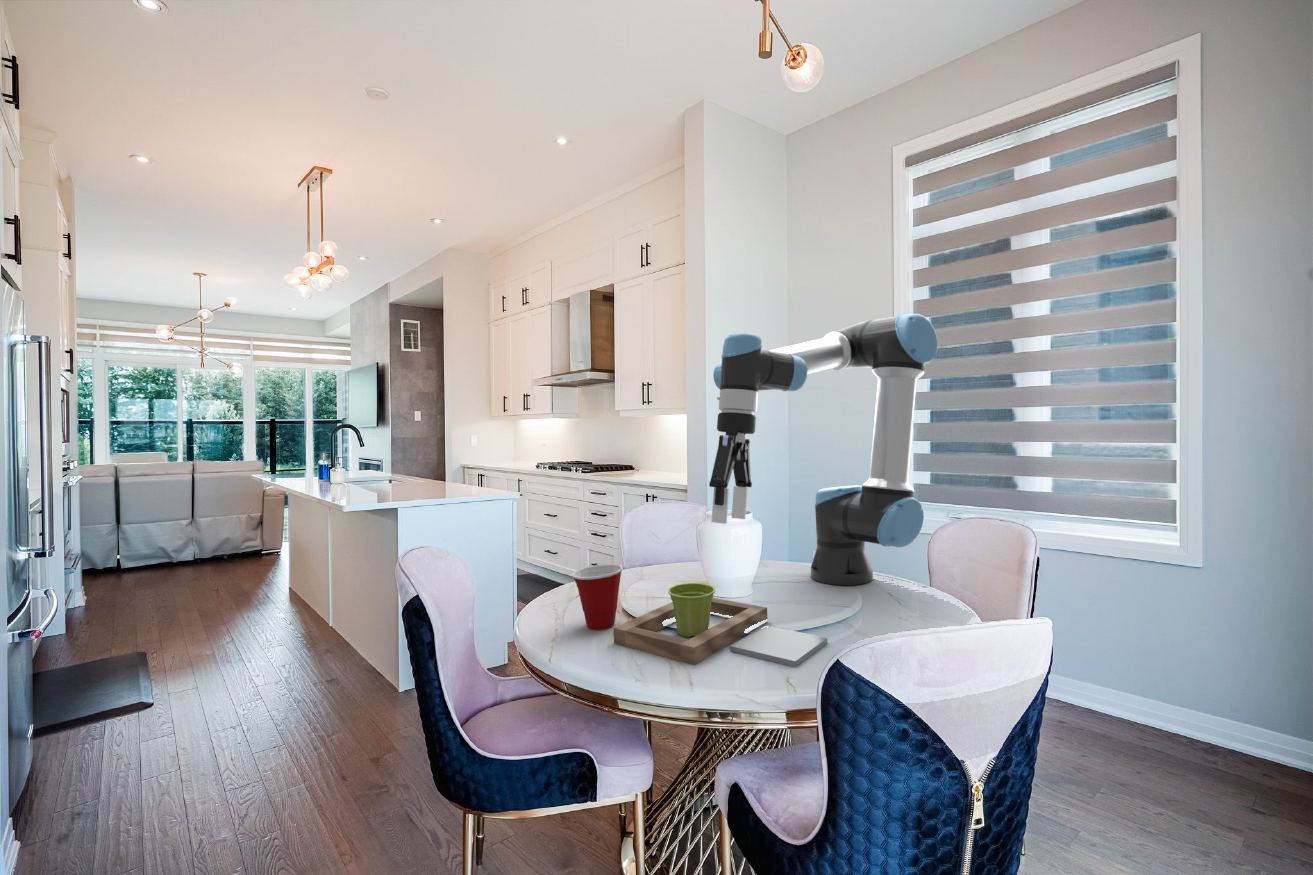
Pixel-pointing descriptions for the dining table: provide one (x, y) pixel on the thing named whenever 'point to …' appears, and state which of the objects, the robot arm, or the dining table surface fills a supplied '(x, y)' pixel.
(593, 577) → the plastic cup
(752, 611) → the open rectangular wooden frame
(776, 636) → the slate coaster
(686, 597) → the plant pot
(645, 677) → the dining table surface
